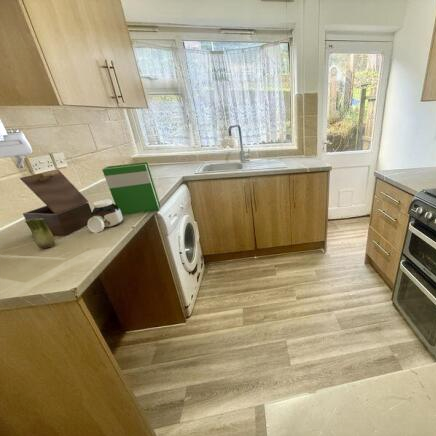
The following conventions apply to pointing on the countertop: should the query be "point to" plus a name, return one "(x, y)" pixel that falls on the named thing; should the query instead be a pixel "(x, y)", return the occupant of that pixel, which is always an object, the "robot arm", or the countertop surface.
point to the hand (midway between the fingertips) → (6, 170)
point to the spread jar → (104, 216)
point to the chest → (62, 218)
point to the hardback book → (132, 188)
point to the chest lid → (55, 190)
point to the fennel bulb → (41, 233)
